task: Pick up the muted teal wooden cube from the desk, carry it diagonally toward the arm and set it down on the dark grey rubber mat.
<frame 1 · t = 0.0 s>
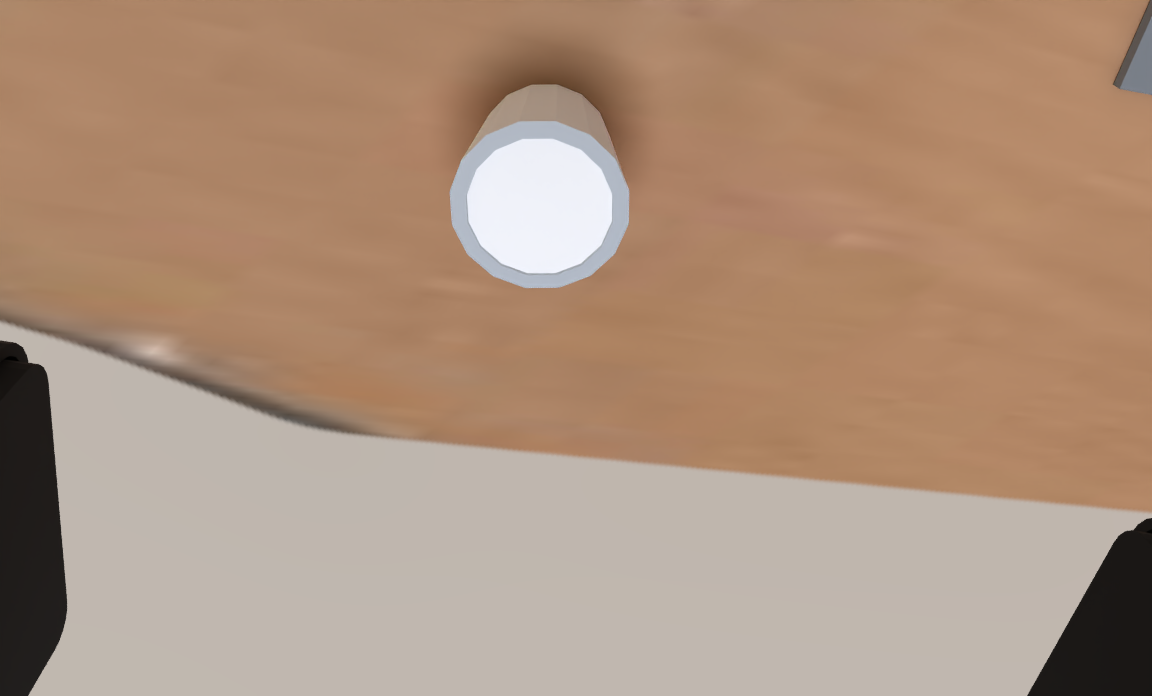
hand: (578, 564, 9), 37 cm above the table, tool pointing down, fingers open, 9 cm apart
white cylinder: (545, 145, 46), on the table
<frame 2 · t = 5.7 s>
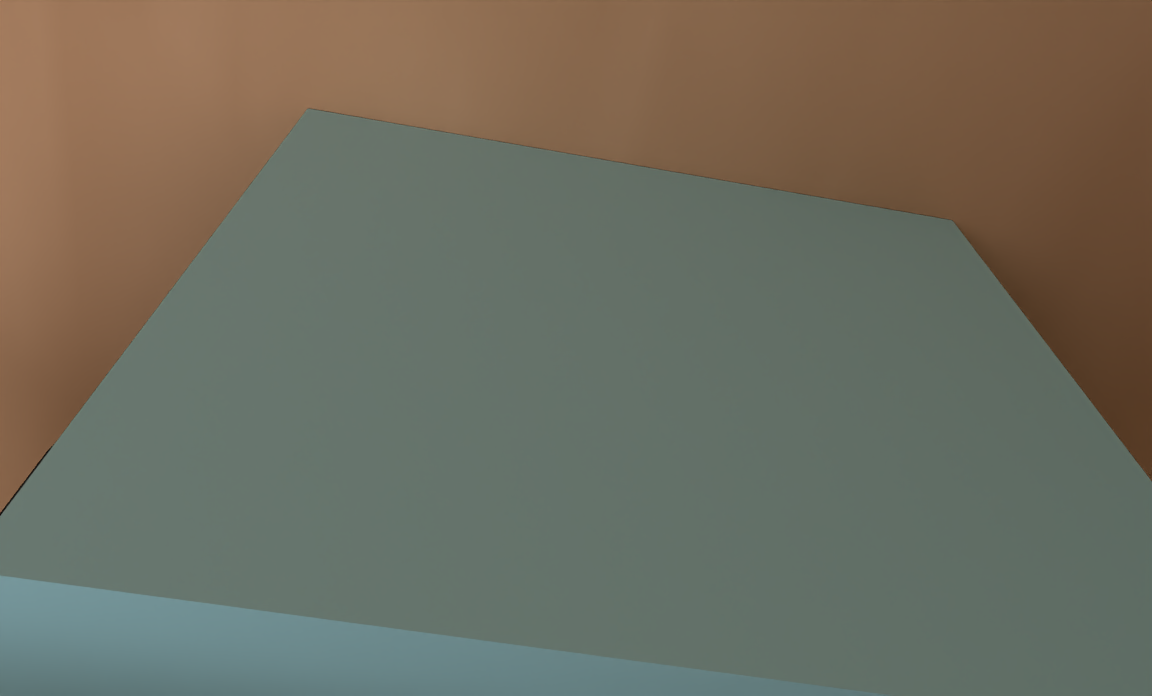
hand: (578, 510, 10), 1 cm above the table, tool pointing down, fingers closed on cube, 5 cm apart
cube: (579, 432, 11), on the table, touching gripper
when the fingers open (3 cm above the table, at t = 15.1 s): cube stays where it is, resting on mat.
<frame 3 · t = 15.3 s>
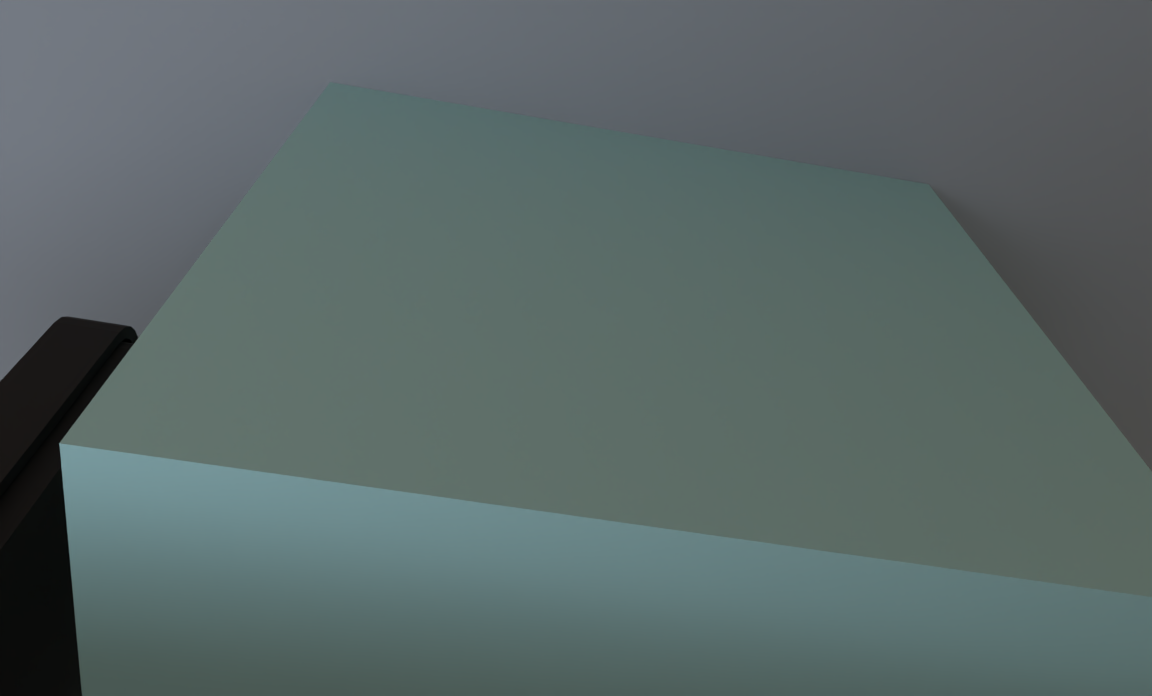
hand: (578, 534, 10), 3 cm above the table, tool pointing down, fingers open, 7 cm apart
cube: (583, 388, 12), point 1 cm above the table, touching mat
mat: (579, 362, 12), on the table
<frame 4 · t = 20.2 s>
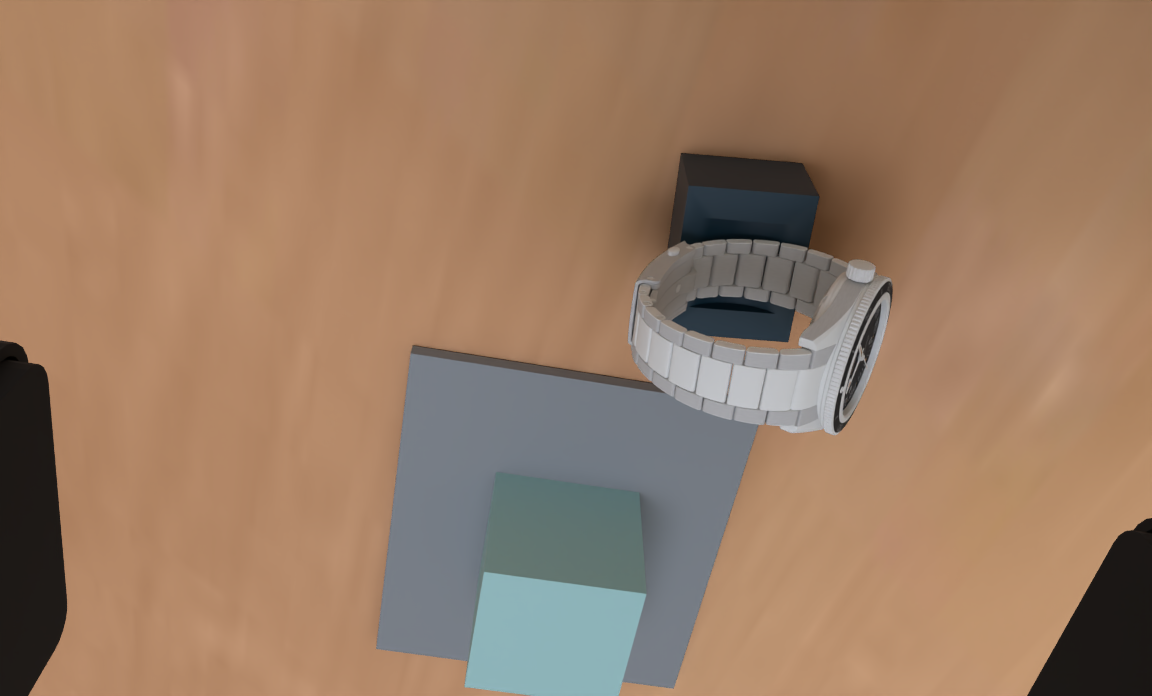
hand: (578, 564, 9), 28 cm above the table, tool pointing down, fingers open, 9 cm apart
cube: (556, 537, 45), point 1 cm above the table, touching mat
mat: (555, 528, 45), on the table
watch: (731, 227, 39), on the table
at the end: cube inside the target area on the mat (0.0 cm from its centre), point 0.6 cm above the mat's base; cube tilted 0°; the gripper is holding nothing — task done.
